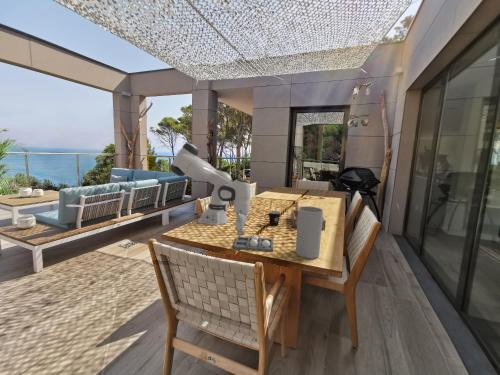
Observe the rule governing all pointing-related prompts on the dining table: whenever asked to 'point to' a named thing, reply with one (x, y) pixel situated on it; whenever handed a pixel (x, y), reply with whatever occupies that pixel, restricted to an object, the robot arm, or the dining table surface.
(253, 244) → the cream egg
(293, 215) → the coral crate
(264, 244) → the cream egg
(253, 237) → the cream egg
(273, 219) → the coffee mug
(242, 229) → the brown egg
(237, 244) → the egg tray
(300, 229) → the cylinder vase
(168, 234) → the dining table surface
